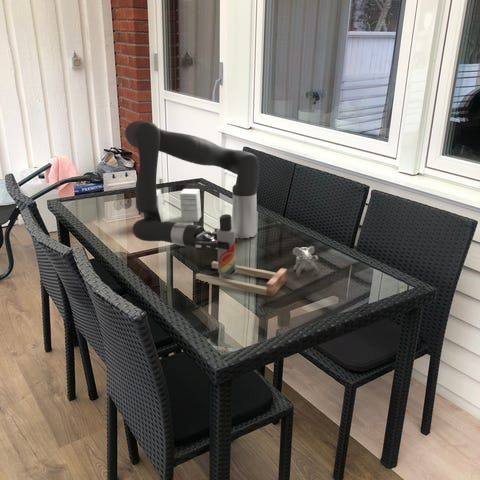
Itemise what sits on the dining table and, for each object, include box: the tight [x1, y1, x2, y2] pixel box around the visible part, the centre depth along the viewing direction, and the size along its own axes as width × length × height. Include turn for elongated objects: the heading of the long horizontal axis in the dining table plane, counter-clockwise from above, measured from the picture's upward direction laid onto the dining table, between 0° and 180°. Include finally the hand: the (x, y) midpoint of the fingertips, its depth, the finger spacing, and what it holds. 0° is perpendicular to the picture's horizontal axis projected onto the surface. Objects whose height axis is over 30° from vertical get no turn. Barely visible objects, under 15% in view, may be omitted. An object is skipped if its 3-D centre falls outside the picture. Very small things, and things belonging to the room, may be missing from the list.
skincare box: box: [156, 188, 164, 222], centre depth 212 cm, size 8×6×15 cm
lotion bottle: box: [217, 214, 237, 277], centre depth 162 cm, size 6×6×20 cm
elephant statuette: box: [292, 246, 320, 276], centre depth 169 cm, size 9×12×8 cm
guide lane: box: [195, 260, 288, 297], centre depth 163 cm, size 12×27×4 cm, turn 64°
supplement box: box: [179, 188, 202, 223], centre depth 218 cm, size 7×7×13 cm
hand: (233, 243), depth 160 cm, fingers closed on lotion bottle, 4 cm apart
